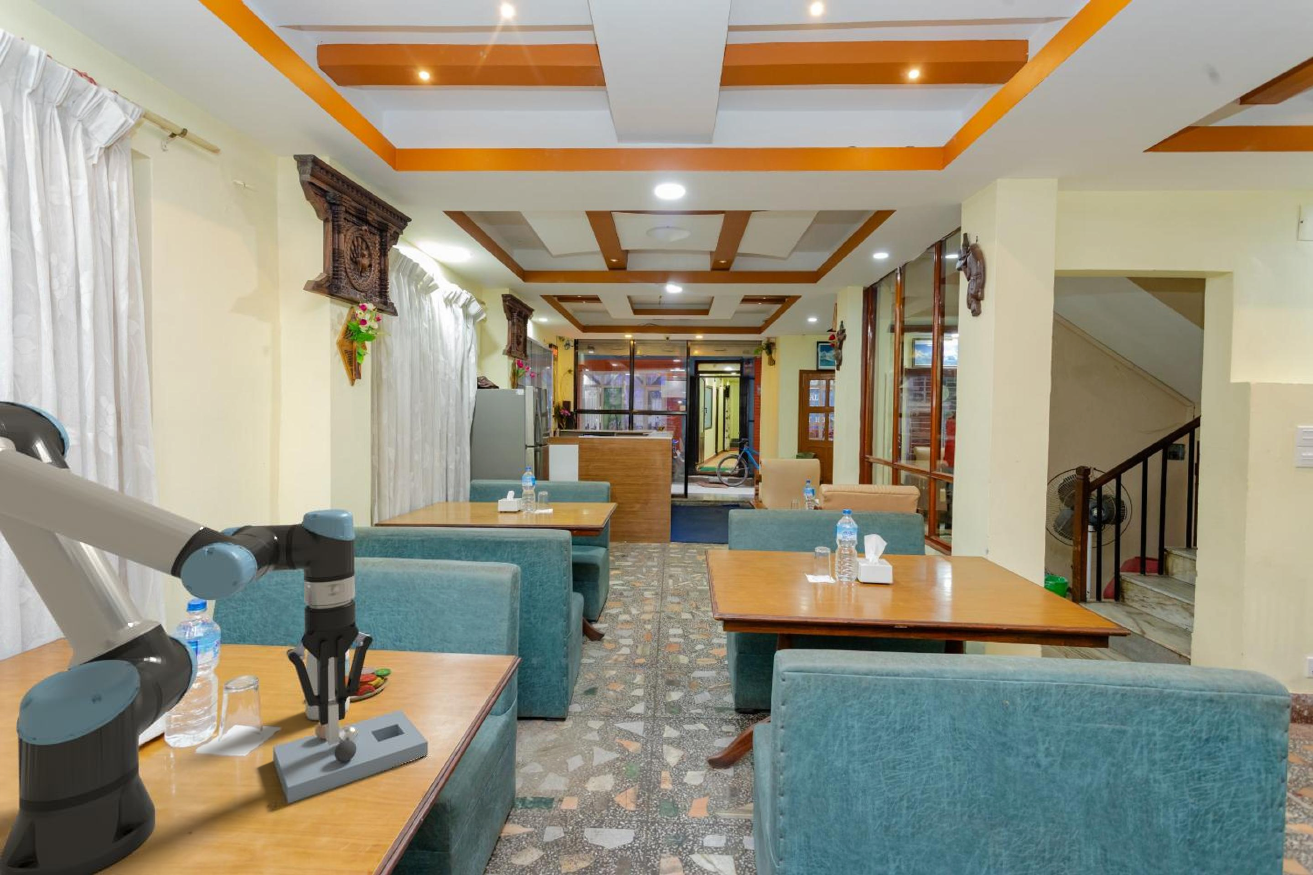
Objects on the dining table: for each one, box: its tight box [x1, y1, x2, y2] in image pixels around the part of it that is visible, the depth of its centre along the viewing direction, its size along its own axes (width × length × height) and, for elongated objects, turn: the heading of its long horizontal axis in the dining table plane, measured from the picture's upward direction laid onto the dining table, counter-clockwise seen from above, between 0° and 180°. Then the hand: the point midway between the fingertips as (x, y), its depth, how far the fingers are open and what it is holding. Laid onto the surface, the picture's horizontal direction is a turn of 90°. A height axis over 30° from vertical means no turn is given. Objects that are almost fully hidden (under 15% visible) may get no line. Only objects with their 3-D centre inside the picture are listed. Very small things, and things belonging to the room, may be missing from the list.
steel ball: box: [339, 725, 358, 743], centre depth 102 cm, size 3×3×3 cm
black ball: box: [335, 740, 356, 762], centre depth 97 cm, size 3×3×3 cm
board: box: [272, 709, 429, 805], centre depth 103 cm, size 21×15×2 cm
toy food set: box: [350, 666, 392, 702], centre depth 130 cm, size 13×13×3 cm
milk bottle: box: [305, 648, 351, 721], centre depth 119 cm, size 8×8×20 cm
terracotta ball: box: [314, 721, 326, 739], centre depth 104 cm, size 3×3×3 cm
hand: (332, 740), depth 100 cm, fingers closed
